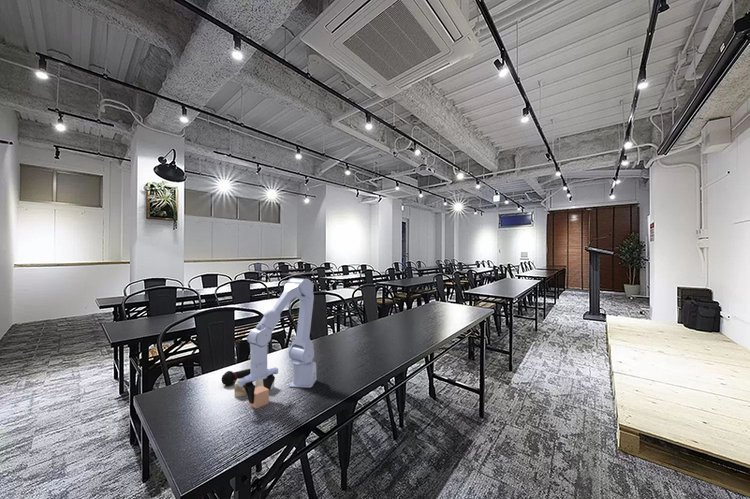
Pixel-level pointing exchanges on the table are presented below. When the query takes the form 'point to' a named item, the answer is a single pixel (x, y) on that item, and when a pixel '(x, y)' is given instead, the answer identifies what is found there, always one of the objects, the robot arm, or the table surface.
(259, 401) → the peach block
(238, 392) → the birch block
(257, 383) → the white block
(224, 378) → the microphone
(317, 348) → the table surface
